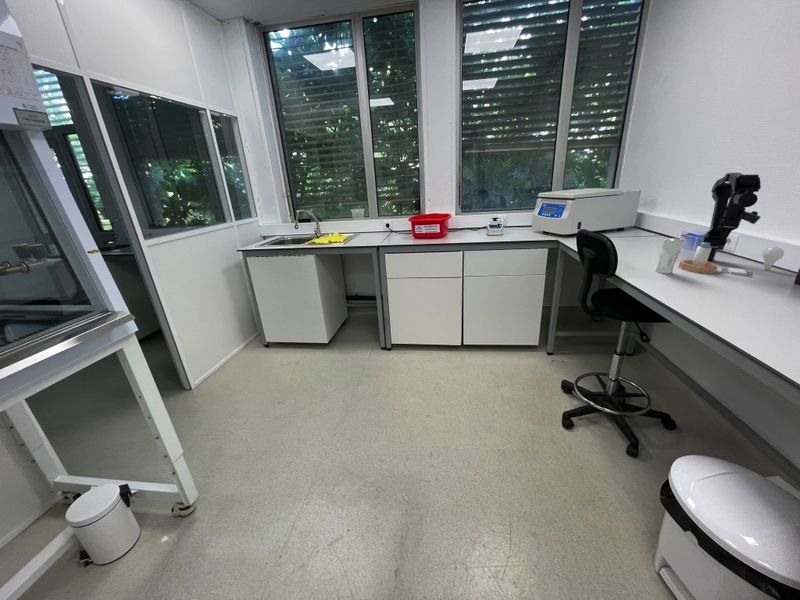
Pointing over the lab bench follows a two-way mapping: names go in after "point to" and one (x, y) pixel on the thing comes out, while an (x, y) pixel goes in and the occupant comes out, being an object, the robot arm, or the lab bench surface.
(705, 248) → the bottle
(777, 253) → the lightbulb
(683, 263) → the bowl
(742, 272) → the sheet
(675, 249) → the beer glass
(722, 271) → the mat
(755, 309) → the lab bench surface
